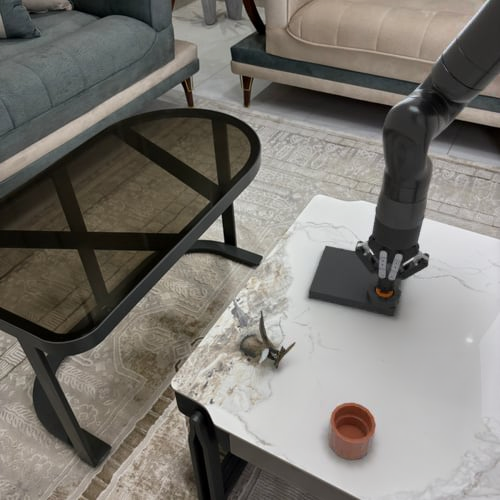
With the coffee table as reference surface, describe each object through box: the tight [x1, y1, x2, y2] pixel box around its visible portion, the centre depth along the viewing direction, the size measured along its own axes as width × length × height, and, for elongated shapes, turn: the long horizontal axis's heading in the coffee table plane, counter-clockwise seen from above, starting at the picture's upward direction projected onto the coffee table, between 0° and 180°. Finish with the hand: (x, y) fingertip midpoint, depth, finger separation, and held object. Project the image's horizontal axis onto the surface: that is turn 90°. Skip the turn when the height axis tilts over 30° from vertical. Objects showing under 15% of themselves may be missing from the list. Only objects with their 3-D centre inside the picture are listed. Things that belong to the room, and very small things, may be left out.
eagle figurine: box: [239, 309, 296, 369], centre depth 84 cm, size 8×7×9 cm
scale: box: [308, 245, 404, 317], centre depth 97 cm, size 16×14×4 cm
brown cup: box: [327, 402, 377, 460], centre depth 72 cm, size 6×6×5 cm
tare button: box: [375, 288, 393, 298], centre depth 92 cm, size 3×3×2 cm
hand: (384, 289), depth 92 cm, fingers closed
